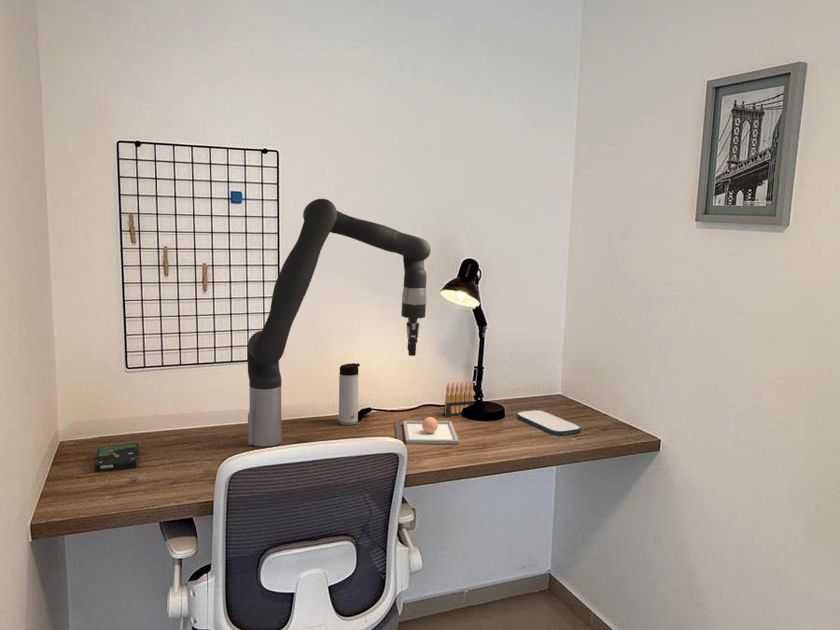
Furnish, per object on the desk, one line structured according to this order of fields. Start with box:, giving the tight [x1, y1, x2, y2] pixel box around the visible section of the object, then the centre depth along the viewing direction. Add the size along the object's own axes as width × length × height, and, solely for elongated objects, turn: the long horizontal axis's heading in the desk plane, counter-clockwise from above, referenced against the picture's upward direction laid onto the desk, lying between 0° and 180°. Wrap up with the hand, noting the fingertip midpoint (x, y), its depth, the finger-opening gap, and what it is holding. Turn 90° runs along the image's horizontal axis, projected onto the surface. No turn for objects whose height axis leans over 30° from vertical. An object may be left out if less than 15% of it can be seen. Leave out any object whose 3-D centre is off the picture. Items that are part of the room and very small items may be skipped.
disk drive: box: [94, 442, 140, 473], centre depth 180 cm, size 10×3×15 cm
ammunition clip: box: [443, 381, 475, 418], centre depth 232 cm, size 11×2×12 cm, turn 111°
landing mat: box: [394, 420, 460, 445], centre depth 211 cm, size 19×22×1 cm
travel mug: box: [338, 362, 361, 426], centre depth 219 cm, size 6×7×20 cm
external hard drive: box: [516, 409, 581, 437], centre depth 225 cm, size 24×12×2 cm, turn 27°
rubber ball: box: [422, 416, 438, 433], centre depth 211 cm, size 5×5×5 cm
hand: (411, 353), depth 210 cm, fingers open, 8 cm apart
